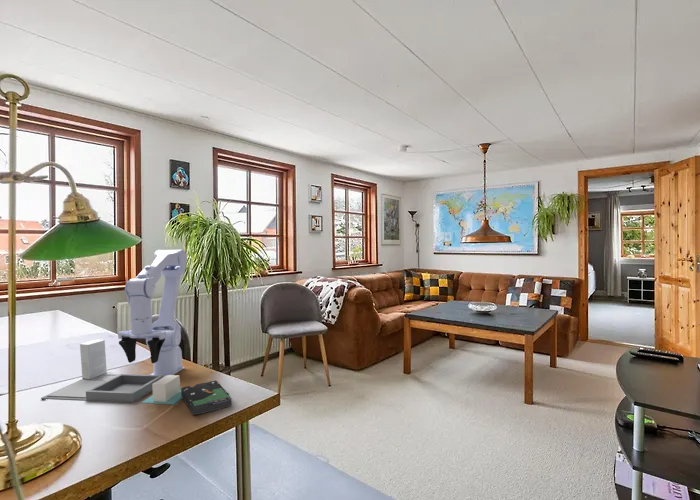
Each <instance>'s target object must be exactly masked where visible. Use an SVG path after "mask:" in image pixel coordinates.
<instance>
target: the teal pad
mask: <svg viewBox="0 0 700 500" xmlns="http://www.w3.org/2000/svg"><path fill="white" fill-rule="evenodd" d="M181 400H184V399H183V397H182V395H181V388H180V392H179V393H178V394H176V395H175V396H173V397H172V398H171V399H169V400H168V401H166V402H158V401H153V394H152V395H150V396H149V397H147V398H145V399H144V400H142V401H141V402H140V404H157V405H159V404H160V405H171V406H176V404H178V403H179V402H180V401H181Z"/></svg>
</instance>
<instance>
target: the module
mask: <svg viewBox="0 0 700 500" xmlns="http://www.w3.org/2000/svg"><path fill="white" fill-rule="evenodd" d="M180 378H181V375H179V374H178V375H175V374H174V375H167V376H165V377H163V378H162V379H160V380H158V381H157V382H155V383H153V384H152V395H153V401H158V402H166V401H168V400H169V399H171V398H172V397H173V396H175V395H176V394H178V393H179V392H180V389H181V379H180Z"/></svg>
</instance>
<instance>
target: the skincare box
mask: <svg viewBox="0 0 700 500" xmlns="http://www.w3.org/2000/svg"><path fill="white" fill-rule="evenodd" d="M105 343H106V341H105V339H98V338H97V339H92V340H89V341H86V342H82V343H79V349H80V364H81V378H82V379H83V378H84V379H83V380H93V379H95V378H97V377H100V376H101V375H104V374H107V357H106V356H107V355H106V344H105Z"/></svg>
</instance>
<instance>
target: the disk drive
mask: <svg viewBox="0 0 700 500" xmlns="http://www.w3.org/2000/svg"><path fill="white" fill-rule="evenodd" d="M180 389H181V395H182V397H183V399H182V400H184V402H185V404H186V405H187V407H188V409H189V411H190V412H191V414H192V415H199V414H205V413H207V412H211V411H216V410H219V409H223V408H226V407H230V406H232V398H231V396H230V393H229V392H227V390H226V389H225V388H224V387H223V385H221V383H219V381H217V380H211V381H210V380H209V381H206V382H202V383H197V384H196V385H194V386H191V385H188V386H182V387H180Z"/></svg>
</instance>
